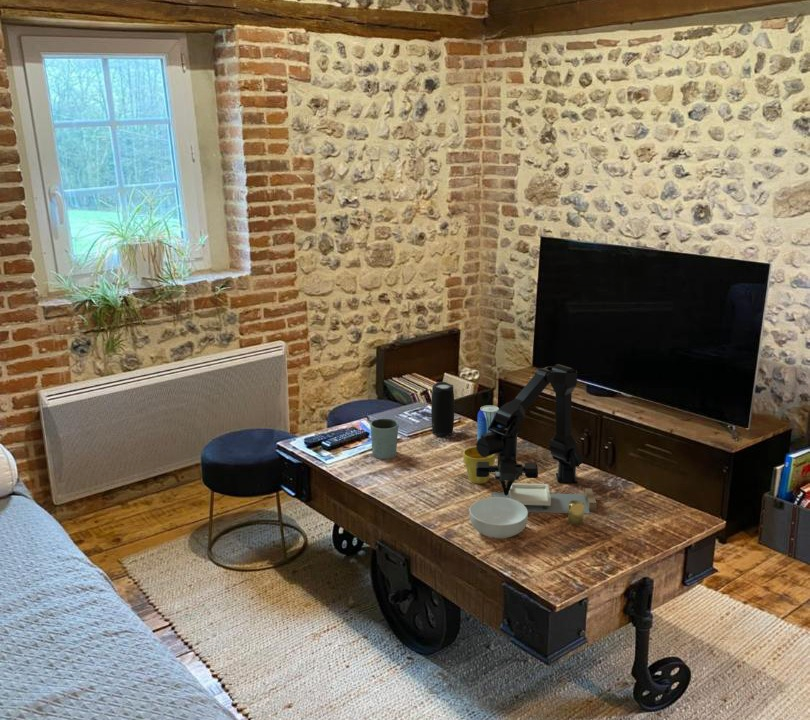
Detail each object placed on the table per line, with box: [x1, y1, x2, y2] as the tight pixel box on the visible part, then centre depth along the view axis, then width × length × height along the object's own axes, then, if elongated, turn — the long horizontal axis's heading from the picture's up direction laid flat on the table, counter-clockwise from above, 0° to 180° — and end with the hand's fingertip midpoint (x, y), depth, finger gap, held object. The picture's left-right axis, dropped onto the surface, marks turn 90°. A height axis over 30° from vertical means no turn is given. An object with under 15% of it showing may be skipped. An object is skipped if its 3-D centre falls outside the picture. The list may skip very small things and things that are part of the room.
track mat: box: [491, 491, 591, 515], centre depth 249 cm, size 13×29×1 cm, turn 86°
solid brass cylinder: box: [567, 501, 585, 527], centre depth 236 cm, size 4×4×6 cm
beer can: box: [476, 404, 502, 442], centre depth 287 cm, size 8×8×16 cm
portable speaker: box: [430, 381, 455, 438], centre depth 302 cm, size 9×9×20 cm
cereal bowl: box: [468, 496, 529, 539], centre depth 230 cm, size 17×17×7 cm
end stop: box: [584, 487, 597, 513], centre depth 247 cm, size 10×2×3 cm, turn 176°
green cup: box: [369, 417, 399, 460], centre depth 284 cm, size 10×10×12 cm
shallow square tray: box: [509, 482, 551, 509], centre depth 248 cm, size 10×12×4 cm
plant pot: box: [462, 446, 496, 485], centre depth 264 cm, size 10×10×10 cm
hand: (506, 495), depth 249 cm, fingers closed
